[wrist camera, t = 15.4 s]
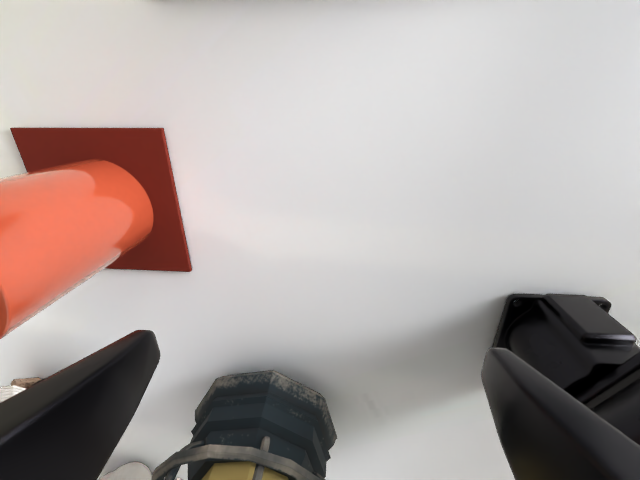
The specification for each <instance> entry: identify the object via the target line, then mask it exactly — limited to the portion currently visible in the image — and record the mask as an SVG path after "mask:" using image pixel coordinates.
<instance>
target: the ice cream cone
mask: <svg viewBox="0 0 640 480" xmlns="http://www.w3.org/2000/svg"><path fill="white" fill-rule="evenodd" d="M151 479H152V474H151V472H150V470H149V468H148V467H147V466H146V465H144V464H142V463H139V462H131V463H127V464H125V465H122V466H121V467H119V468H118V469H116V470H115V471H113V472H110V473H108V474H106V475H104V476H103V477H101V478H100V479H99V480H151Z"/></svg>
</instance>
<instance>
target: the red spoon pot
mask: <svg viewBox="0 0 640 480" xmlns="http://www.w3.org/2000/svg"><path fill="white" fill-rule="evenodd" d="M153 220H154V218H153V208H152V205H151V202H150V199H149V197H148V195H147V193H146V191H145V190H144V188H143V187H142V185H141V184H140V183H139V182H138V181H137V180H136V179H135V178H134V177H133V176H132V175H131V174H130V173H129V172H127V171H126V170H125V169H123V168H121V167H120V166H118V165H116V164H113V163H111V162H108V161H104V160H99V159H87V160H82V161H77V162H72V163H68V164H63V165H59V166H54V167H50V168H45V169H41V170H36V171H31V172H27V173H22V174H18V175H13V176H9V177H4V178H0V339H1V338H3V337H4V336H6V335H7V334H9V333H10V332H12V331H13V330H14V329H16V328H17V327H19V326H20V325H22V324H23V323H25V322H26V321H28V320H29V319H31V318H32V317H34V316H35V315H36V314H38V313H39V312H41V311H42V310H44V309H45V308H47V307H48V306H50V305H51V304H53V303H54V302H56V301H57V300H59V299H60V298H61V297H63V296H64V295H66V294H67V293H69V292H70V291H72V290H73V289H75V288H76V287H78V286H79V285H81V284H82V283H83V282H85V281H86V280H88V279H89V278H91V277H92V276H94V275H95V274H97V273H98V272H100V271H101V270H103V269H104V268H105V267H107V266H108V265H110V264H111V263H113V262H114V261H116V260H117V259H119V258H120V257H122V256H123V255H125V254H126V253H128V252H129V251H130V250H132V249H133V248H135V247H136V246H138V245H139V244H141V243H142V242H143V241H144V240H145V239H146V238H147V237H148V236H149V234H150V232H151V230H152V226H153Z"/></svg>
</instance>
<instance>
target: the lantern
mask: <svg viewBox="0 0 640 480" xmlns="http://www.w3.org/2000/svg"><path fill="white" fill-rule="evenodd" d="M195 421H196V423H197V424H196V425H195V427H194V428H193V430H192V431H191V432H192V434H193V438H192V440H191V442H190V444H188V445H187V446H185V447H184V448H183V449H181V450H180V451H179V452H176V453H174V454H173V455H172V456H171V457H169V458H168V459H167V460H166V461H164V462H163V463H162V464H160V465H159V466H158V467H157V468H156V469H155V471H154V473H153V475H152V479H151V480H164V477H165V476H166V477H165V480H174V479H175V477H176V475H177V473H178V470H179V468H180V466H181V465H183V464H187V463H188V480H325V479H324V478H325V477H326V461H328V460H329V459H330V455H329V452H328V450H329V449H330V448H331V447H332V446H333V445H334V443H335V441H336V439H337V435H336V432H335V429H334V426H333V423H332V420H331V417H330V414H329V411H328V408H327V404H326V401H325V399H324V397H323V396H322V395H321V394H319V393H318V392H316V391H314V390H312V389H310V388H308V387H306V386H304V385H302V384H300V383H298V382H296V381H294V380H292V379H290V378H288V377H286V376H284V375H282V374H280V373H278V372H276V371H274V370H272V371H263V372H254V373H245V374H237V375H228V376H222V377H220V378H217V379H216V380H215V382H214V383H213V385H212V386H211V388H210V389H209V391H208V392H207V394H206V395H205V397H204V398H203V400H202V401H201V403H200V404H199V406H198V407H197V409H196V410H195Z"/></svg>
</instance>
